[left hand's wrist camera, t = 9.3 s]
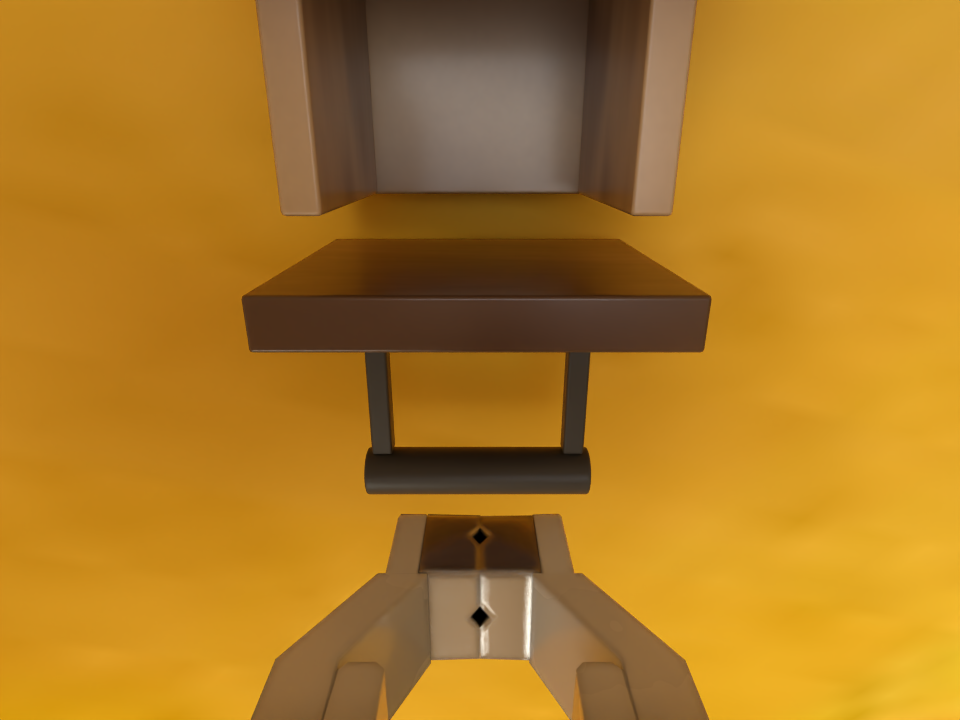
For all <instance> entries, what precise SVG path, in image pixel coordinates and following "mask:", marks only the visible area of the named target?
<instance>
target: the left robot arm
mask: <svg viewBox="0 0 960 720" xmlns="http://www.w3.org/2000/svg"><path fill="white" fill-rule="evenodd" d="M449 659H511V660H529V663H530V664H531V666H532V667H533V668H534V670H535V671H536V673H537V674H538V675H539V677H540V678H541V680H542V681H543V682H544V684H545V685H546V687H547V688H548V689H549V691H550V692H551V694H552V695H553V696H554V698H555V699H556V701H557V702H558V703H559V705H560V706H561V708H562V709H563V710H564V712H565V713H566V715H567V716H568V717H569V719H570V720H709V718H708V715H707V713H706V711H705V708H704V706H703V703H702V701H701V698H700V696H699V693H698V691H697V688H696V686H695V683H694V681H693V678H692V676H691V673H690V671H689V669H688V666H687V664H686V661H685V660H684V659H683V658H682V657H681V656H680V655H678V654H677V653H676V652H675V651H674V650H672V649H671V648H670V647H669V646H668V645H667V644H665V643H664V642H663V641H662V640H661V639H659V638H658V637H657V636H656V635H655V634H653V633H652V632H651V631H650V630H649V629H648V628H646V627H645V626H644V625H643V624H642V623H640V622H639V621H638V620H637V619H636V618H635V617H633V616H632V615H631V614H630V613H629V612H627V611H626V610H625V609H624V608H623V607H621V606H620V605H619V604H618V603H617V602H616V601H614V600H613V599H612V598H611V597H610V596H608V595H607V594H606V593H605V592H604V591H602V590H601V589H600V588H599V587H598V586H597V585H595V584H594V583H593V582H592V581H591V580H589V579H588V578H587V577H586V576H585V575H584V574H582V573H574V570H573V565H572V561H571V557H570V552H569V548H568V544H567V539H566V535H565V531H564V526H563V522H562V517H561V516H560V515H559V514H540V515H530V516H480V515H436V514H428V516H427V515H426V514H401V515H400V517H399V518H398V521H397V526H396V530H395V534H394V539H393V543H392V548H391V552H390V556H389V561H388V565H387V570H386V573H378V574H376V575H375V576H374V577H373V578H372V579H371V580H369V581H368V582H367V583H366V584H365V585H363V586H362V587H361V588H360V589H359V590H357V591H356V592H355V593H354V594H353V595H351V596H350V597H349V598H348V599H347V600H346V601H344V602H343V603H342V604H341V605H340V606H338V607H337V608H336V609H335V610H334V611H332V612H331V613H330V614H329V615H328V616H326V617H325V618H324V619H323V620H322V621H321V622H319V623H318V624H317V625H316V626H315V627H313V628H312V629H311V630H310V631H309V632H307V633H306V634H305V635H304V636H303V637H301V638H300V639H299V640H298V641H297V642H295V643H294V644H293V645H292V646H291V647H290V648H288V649H287V650H286V651H285V652H284V653H282V654H281V655H280V656H279V657H278V658H276V659H275V662H274V664H273V667H272V669H271V672H270V674H269V676H268V679H267V681H266V684H265V686H264V689H263V691H262V693H261V696H260V698H259V701H258V703H257V706H256V708H255V711H254V713H253V715H252V718H251V720H390V719H391V718H392V716H393V715H394V714H395V712H396V711H397V709H398V708H399V707H400V705H401V704H402V702H403V701H404V700H405V698H406V697H407V696H408V694H409V693H410V691H411V690H412V689H413V687H414V686H415V684H416V683H417V682H418V680H419V679H420V677H421V676H422V675H423V673H424V672H425V670H426V669H427V668H428V666H429V665H430V663H431V660H449Z"/></svg>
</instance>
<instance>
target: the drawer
mask: <svg viewBox="0 0 960 720" xmlns="http://www.w3.org/2000/svg"><path fill="white" fill-rule="evenodd" d="M255 1H256V9H257V17H258V26H259V34H260V42H261V50H262V59H263V67H264V75H265V84H266V92H267V100H268V108H269V117H270V125H271V133H272V142H273V150H274V158H275V166H276V175H277V183H278V191H279V200H280V208H281V212H282V214H283V215H285V216H320V215H322V214H325V213H327V212H330V211H332V210H335V209H337V208H340V207H342V206H345V205H347V204H350V203H353V202H355V201H358V200H360V199H363V198H365V197H368V196H370V195H373V194H582V195H584V196H587V197H589V198H592V199H594V200H596V201H599V202H601V203H604V204H606V205H609V206H611V207H613V208H616V209H618V210H621V211H623V212H626V213H628V214H630V215H633V216H669V215H671V214H672V210H673V202H674V193H675V185H676V176H677V167H678V159H679V150H680V142H681V133H682V124H683V116H684V107H685V99H686V90H687V82H688V73H689V64H690V56H691V47H692V39H693V30H694V21H695V13H696V4H697V0H255ZM242 304H243V311H244V317H245V324H246V331H247V337H248V344H249V350H250V351H251V352H365V362H366V375H367V389H368V402H369V415H370V428H371V441H372V447H370V448H369V449H368V451H367V454H366V460H365V471H364V479H365V488H366V491H367V493H368V494H587V493H588V492H589V490H590V484H591V464H590V457H589V453H588V450H587V448H586V447H583V446H584V432H585V419H586V405H587V391H588V378H589V364H590V352H702V351H703V350H704V346H705V340H706V333H707V326H708V319H709V313H710V306H711V296H710V295H708V294H706V293H705V292H703V291H702V290H700V289H698V288H697V287H695V286H694V285H692V284H690V283H689V282H687V281H686V280H684V279H682V278H681V277H679V276H677V275H676V274H674V273H673V272H671V271H669V270H668V269H666V268H665V267H663V266H661V265H660V264H658V263H657V262H655V261H653V260H652V259H650V258H649V257H647V256H645V255H644V254H642V253H641V252H639V251H637V250H636V249H634V248H632V247H631V246H629V245H628V244H626V243H624V242H623V241H621V240H619V239H337V240H334V241H333V242H331V243H330V244H328V245H326V246H325V247H323V248H321V249H320V250H318V251H316V252H315V253H313V254H311V255H310V256H308V257H306V258H305V259H303V260H302V261H300V262H298V263H297V264H295V265H293V266H292V267H290V268H288V269H287V270H285V271H283V272H282V273H280V274H278V275H277V276H275V277H273V278H272V279H270V280H269V281H267V282H265V283H264V284H262V285H260V286H259V287H257V288H255V289H254V290H252V291H250V292H249V293H247V294H245V295H244V296H243V297H242ZM389 352H566V358H565V376H564V393H563V411H562V429H561V447H394V446H395V437H394V421H393V404H392V387H391V371H390V354H389Z"/></svg>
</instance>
